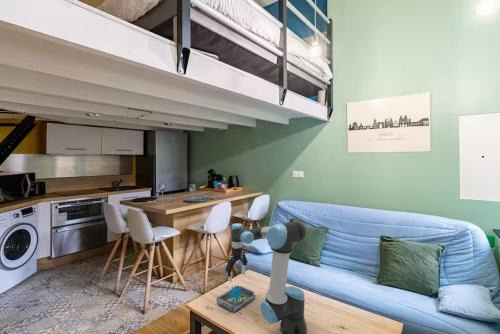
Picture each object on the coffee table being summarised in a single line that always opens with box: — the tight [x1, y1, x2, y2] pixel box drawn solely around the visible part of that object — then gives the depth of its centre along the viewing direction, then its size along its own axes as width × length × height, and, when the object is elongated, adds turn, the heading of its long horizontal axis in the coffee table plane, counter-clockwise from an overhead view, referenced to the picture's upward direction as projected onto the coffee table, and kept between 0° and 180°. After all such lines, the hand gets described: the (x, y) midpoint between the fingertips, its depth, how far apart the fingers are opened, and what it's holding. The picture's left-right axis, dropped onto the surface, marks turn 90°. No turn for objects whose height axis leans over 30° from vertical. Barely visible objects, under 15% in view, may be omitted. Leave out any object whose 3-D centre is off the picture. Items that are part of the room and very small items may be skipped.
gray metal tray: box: [216, 284, 257, 314], centre depth 171 cm, size 17×23×4 cm
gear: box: [229, 285, 244, 301], centre depth 172 cm, size 11×6×10 cm
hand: (237, 277), depth 170 cm, fingers open, 13 cm apart
